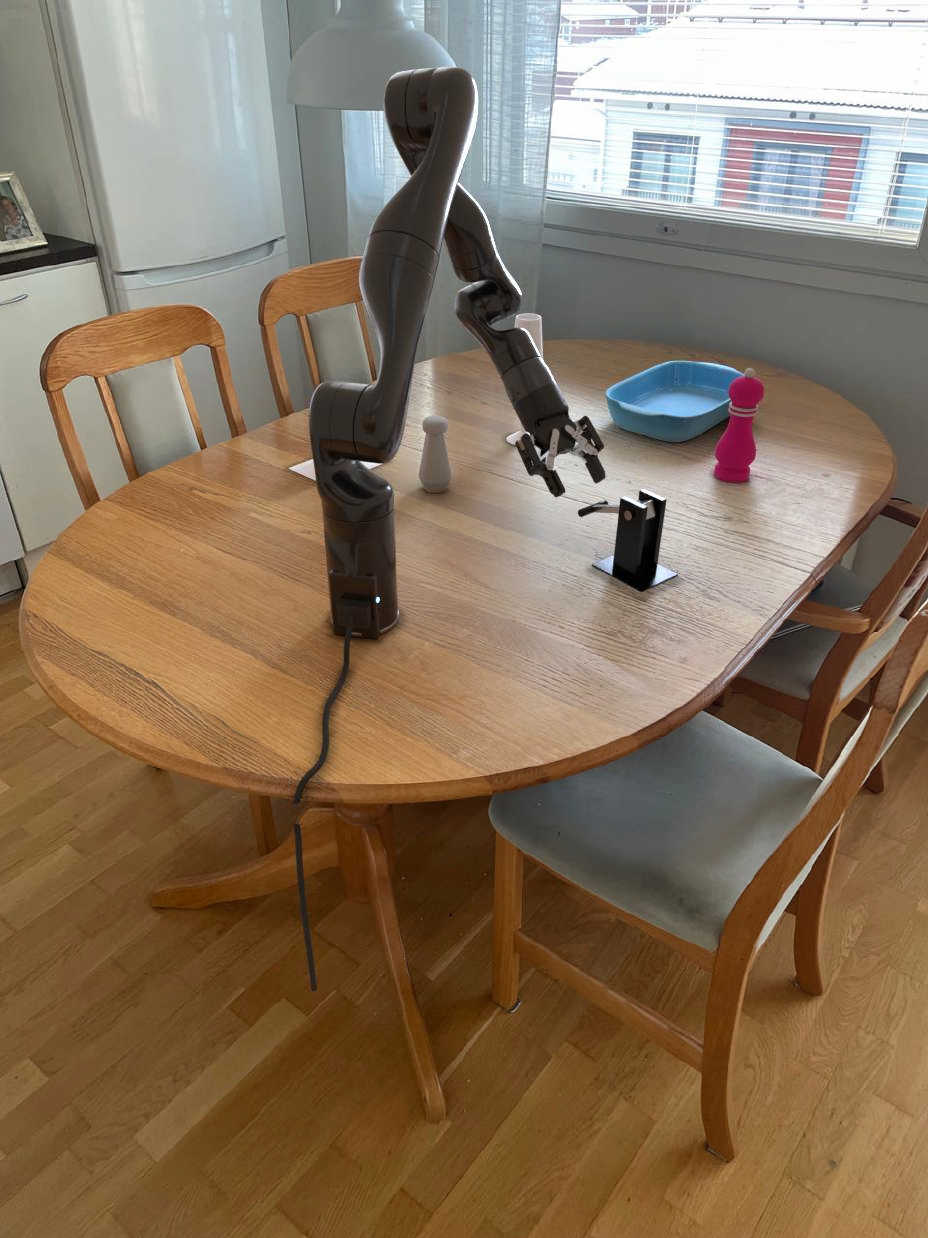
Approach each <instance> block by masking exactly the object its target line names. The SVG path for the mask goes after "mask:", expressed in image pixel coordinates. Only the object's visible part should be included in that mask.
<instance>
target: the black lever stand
mask: <svg viewBox="0 0 928 1238" xmlns="http://www.w3.org/2000/svg"><path fill="white" fill-rule="evenodd" d="M638 491H639V492H638V498H637V500H653V502H654V509H655V516H654V517H652V518H649V519H647V520H646V517H647V509H648V507H647V506H645V505H643V504H641V503H639V502H636V501H637V500H634V499H632V498H630V497H627V496H622V497H620V498H619V504H618V505H619V513H617V514H618V516H617V525H616V533H615V540H614V541H615V542H614V550H613V551H614V553H613V554H612V555H611V556H607V557H605V558H604V559H600V560H599V561H597V562H594V563H592V564H591V566H592V567H593V568H596V569H597V570H599V571H600V572H603V573H604V574H606V575H608V576H610V577H612V578H614V579H616V580H618V581H619V582H621V583H622V584H625V585H626V586H628V587H630V588H632V589H633V590H636V591H638V592H639V593H644V592H646V591H648V590H650V589H652V588H655V587H656V586H659V585H660V584H663V583H666V582H667V581H669V580H671V579H674V578H675V577H678V576H679V574H678V573H677V572H674V571H673V570H671V569H669V568H667V567H665V566H663V565H662V564H659V557H660V549H661V544H662V537H663V536H662V534H663V528H664V521H665V515H666V508H667V498H665V497H663V496H660V495H658V494H656V493H655V492H652V491H649V490H647V489H645V488H643V489H640V490H638Z"/></svg>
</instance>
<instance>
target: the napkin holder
mask: <svg viewBox="0 0 928 1238" xmlns="http://www.w3.org/2000/svg"><path fill="white" fill-rule="evenodd" d="M360 462H361V463H362V464H364V465H365V466H366V467H367V468H369V469H370V470H372V469H374V468H376V467H378V466H381V465H382V464H378V463H370V462H362V461H360ZM287 469H289V470H291V471H293V472H295V473H297V474H299V475H302V476H304V477H306V478H308V479H311V480H313V481H315V482H316V478H315V470H314V462H313V458H312V459H309V460H306V461H304V462H301V463H298V464H295V465H293V466H291V467H288V468H287Z"/></svg>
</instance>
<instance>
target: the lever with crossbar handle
mask: <svg viewBox="0 0 928 1238" xmlns="http://www.w3.org/2000/svg"><path fill="white" fill-rule="evenodd" d="M635 501H636V502H639V503H641V504H643V505H645V506H647V507H648V509H647V517H646V520H647V519H649V518H652V517H654V516H655V509H654V502H653V500H638V499H637V500H635ZM619 505H620V504H609V502H608V500H607V499H604V500H601V501H597V502H596V503H593V504H590V505H587V506H585V507H582V508H580V509H578V510H577V515H578V517H579V518H584V517H586V516H589V515H591V514H619Z"/></svg>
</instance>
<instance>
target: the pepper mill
mask: <svg viewBox="0 0 928 1238" xmlns="http://www.w3.org/2000/svg"><path fill="white" fill-rule="evenodd" d="M743 374H744V375H745V376H741V377H738V378H736V379H735V380H734V381H733V382H732V383H731V385H730V387H729V391H728V395H729V398H730V399H731V401H732V402H730V403H729V406H730V407H729V409H728V411H729V412H730V416H729V421H728V425H727V427H726V430H725V431H724V433H723V434H722V436H721V437H720V438H719V440H718V442H717V443H716V445H715V449H714V457H715V459H716V461H717V462H716V463H715V465H714V470H713V474H714V476H715V478H717V479H719V480H720V481H723V482H729V483H741V482H745V481H747V480H748V479H749V478H750V474H751V467H750V465H751V464H752V463H753V462H754V461H755V460H756V458H757V457H756V456H757V447H756V441H755V438H754V433H753V423H754V422H753V421H754V417H755V416H756V415H758V410H759V405H758V404H759V403H760V402H761V401H762V400H763V399H764V396H765V386H764V383H763V382H762V380H760V379H759V378H757V377H755V375H756V371H755V370H754V368H751V367H748V368H746V369H745V370H744V372H743Z"/></svg>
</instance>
